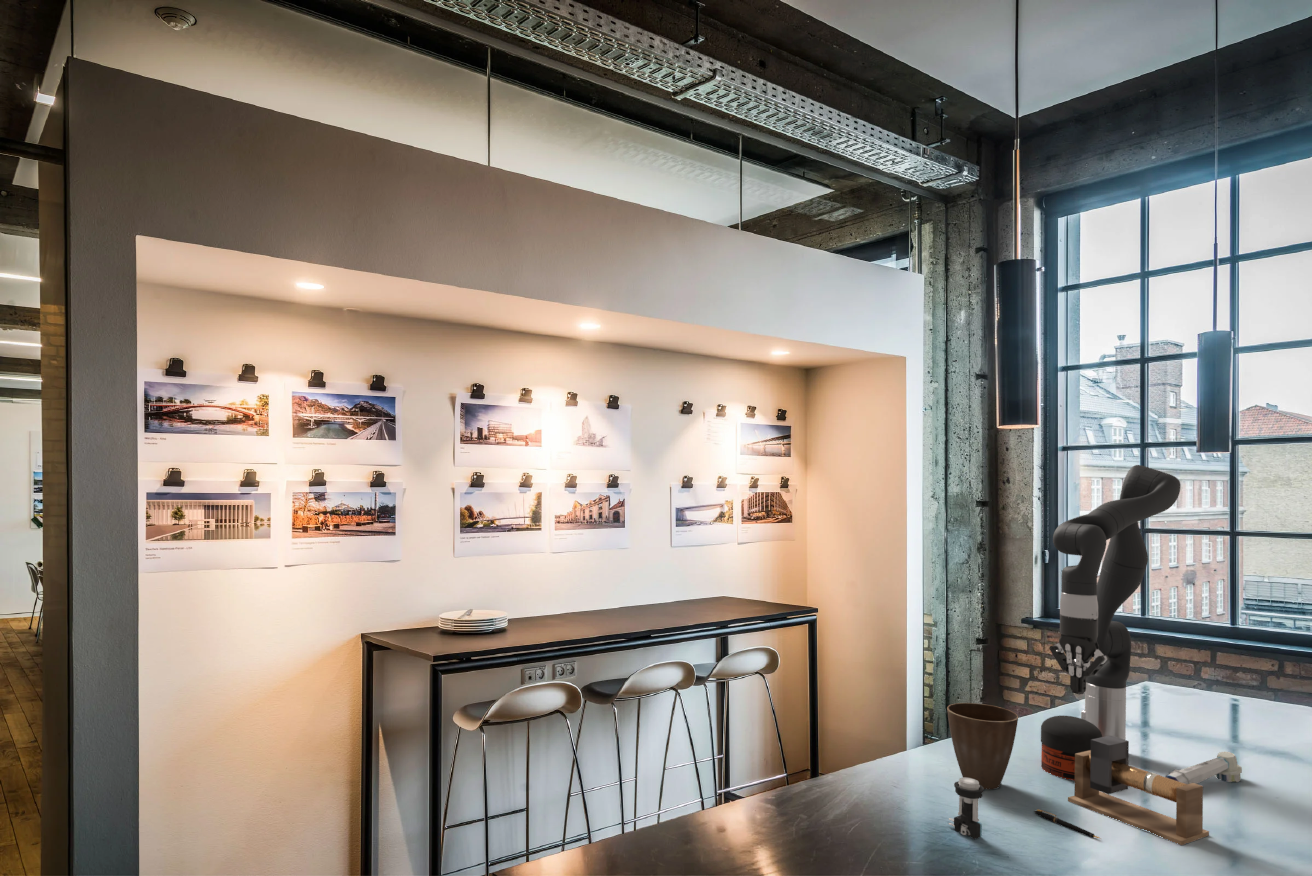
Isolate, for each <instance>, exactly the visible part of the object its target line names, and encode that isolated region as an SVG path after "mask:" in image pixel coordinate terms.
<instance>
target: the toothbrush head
mask: <svg viewBox="0 0 1312 876" xmlns="http://www.w3.org/2000/svg"><path fill="white" fill-rule="evenodd" d="M1216 755H1217V756H1216V757H1214V758H1212V759H1209V760H1206V761H1203V762H1200V763H1197V764H1195V765H1191V766H1189V767H1185V768H1181V769H1179V770H1178V769H1174V770H1172V771H1171V772H1170V773H1169V774H1168V775H1165V776H1164V777H1166V778H1169V779H1172V780H1175V781H1178V782H1181V783H1184V784H1191V783H1195V784H1200V783H1201V782H1204V781H1205V780H1208V779H1210V778H1212V777H1214V776H1215V778H1216V777H1217V778H1218V779H1217V778H1216V779H1217V780H1219V779H1221V780H1220V781H1222V782H1226V781H1227V782H1228V783H1232V782H1235V783H1238V782H1240V781H1241V774H1242V771H1243V768H1242V766H1241V765H1240V764H1238V761H1237V756H1236V755H1235V754H1234V753H1233V752H1229V751H1221V752H1220V751H1219V752H1218V753H1217V754H1216Z"/></svg>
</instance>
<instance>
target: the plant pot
mask: <svg viewBox="0 0 1312 876" xmlns="http://www.w3.org/2000/svg"><path fill="white" fill-rule="evenodd" d="M946 709H947V711H946V712H947V718H948V719H947V720H948V726H949V731H950V736H951V742H952V746H953V750H954V753H955V758H956V761H957V765H958V768H959V771H960V774H961V776H962V778H964V777H965V778H972V779H975V780H977V781H978V782H979V785H981V786H982V787H983V788H984V790H997V789H998V788H1000V786H1001V784H1002V781H1003V778H1004V776H1005V773H1006V771H1007V768H1008V765H1009V762H1010V759H1011V756H1012V752H1013V748H1014V745H1015V740H1016V736H1017V735H1016V733H1017V727H1018V721H1019V716H1018V714H1017V713H1016V712H1014V711H1012V710H1010V709H1007V708H1005V707H999V706H996V705H991V704H984V703H975V702H973V703H972V702H959V703H953V704H949V705H948V706H947V707H946Z"/></svg>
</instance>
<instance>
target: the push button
mask: <svg viewBox="0 0 1312 876" xmlns="http://www.w3.org/2000/svg"><path fill="white" fill-rule="evenodd" d="M953 784H954V785H953V786H954V789H955V791H954V792H955V793H956V795H957V796H959V797H958V800H959V801H958V812H957V816H953V818H952V817H949V818H948V820H949V821H951V822H949V823H948V825H950V826H952V827H954V831H956V832H958V833H960V834H961V835H963V836H967V837H969V838H971V839H972V840H977V839H979V838H982V836H983V835H982V834H983V833H982V832H983V824H982V822H980V818H979V799H981V798H982V797H983V793H984V791H985V789H984V788H983V787H982V786H981V785H979V782H978V781H977V780H975V779H972V778H965V777H964V778H963V777H959V779H958V781H955V782H954V783H953ZM952 822H953V823H952Z"/></svg>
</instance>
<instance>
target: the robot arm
mask: <svg viewBox="0 0 1312 876" xmlns="http://www.w3.org/2000/svg"><path fill="white" fill-rule="evenodd" d="M1180 493H1181V482H1180V480H1179V478H1178V477H1176V476H1174V475H1172V474H1170V473H1167V472H1164V471H1161V470H1158V469H1155V468H1153V467H1148V466H1145V465H1140V464H1135V465H1133V466H1132V467H1130V469H1129V470H1128V471H1127V473H1126V475H1125V477H1124V480H1123V481H1122V486H1121V490H1120V494H1119V499H1116V500H1115V499H1114V500H1110V501H1107V502H1104V503H1102V504H1100V505H1099V506H1097V507H1096V508H1094V509H1093V510H1092V511H1090V512H1088V513H1087V514H1083V515H1080V516H1077V517H1074V518H1070V519H1068V520H1066V521H1064V522H1062V523H1060V524H1059V525H1058V526H1057V527H1056V529H1055V530H1054V532H1053V536H1052V543H1053V545H1054V548H1056V550H1058V552H1060V553H1062V554H1064V555H1070V556H1071V555H1072V556H1080V557H1081V558H1080V560H1079V562H1078V564H1075V565H1068V566H1064V567H1063V568H1062V571H1061V586H1060V587H1061V589H1060V590H1061V593H1060V600H1059V633H1060V637H1059V639H1058V642H1057V643H1056V644H1054V645H1050V646H1049V650H1050V652H1051V654H1052V656H1053V657H1054V660H1056V663H1057V664H1058V665H1059V667H1060V669H1061V671H1062V672H1066V673H1068V675H1069V677H1070V679H1069V682H1070V683H1069V689H1070V690H1071V692H1072V693H1073V694H1075V695H1078V696H1079V695H1084V709H1083V710H1081V712H1080V718H1081V719H1084V720H1086V721H1089V722H1090V723H1092V724H1094V725H1095V726H1096V727H1097V728H1098V729H1099V730H1100V731H1101V734H1102V737H1105V736H1114V737H1117V738H1120V739H1124V740H1126V735H1127V734H1126V733H1127V732H1126V728H1127V727H1126V725H1127V724H1126V722H1127V719H1126V718H1127V707H1126V706H1127V681H1128V678H1129V676H1130V670H1131V669H1130V668H1131V659H1132V658H1131V656H1132V638H1131V635H1130V632H1129V629H1128V628H1127V626H1125V624H1124V623H1122V622H1120V621H1116V620H1115V621H1114V620H1113V618H1114V616H1115V614H1116V613H1117V611H1118V610H1119V608H1120V607H1121V606H1122V605H1124V603H1125V602H1126V601H1127V600H1128V599H1129V598H1130V597H1131V596H1133V594H1134V593H1135V591H1137V590H1138V588H1139V587H1140V586H1141V584H1142V582H1143V579H1144V576H1145V572H1146V569H1147V565H1148V562H1149V555H1148V550H1147V547H1146V543H1145V542H1144V541H1145V540H1144V538H1143V536H1142V533H1141V529H1140V526H1139V522H1140V521H1144V520H1145V519H1149V518H1151V517H1153V516H1156V515H1158V514H1161V513H1163V512H1165V511H1168V509H1170V508H1171V507H1172V506H1173V505H1175V503H1176V501H1177V500H1178V497H1179V495H1180ZM1108 540H1109V541H1108ZM1107 541H1108V544H1107ZM1106 548H1107V549H1106ZM1100 567H1101V568H1100ZM1099 570H1100V572H1099ZM1098 575H1099V576H1098ZM1092 659H1093V662H1091V661H1092Z"/></svg>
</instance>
